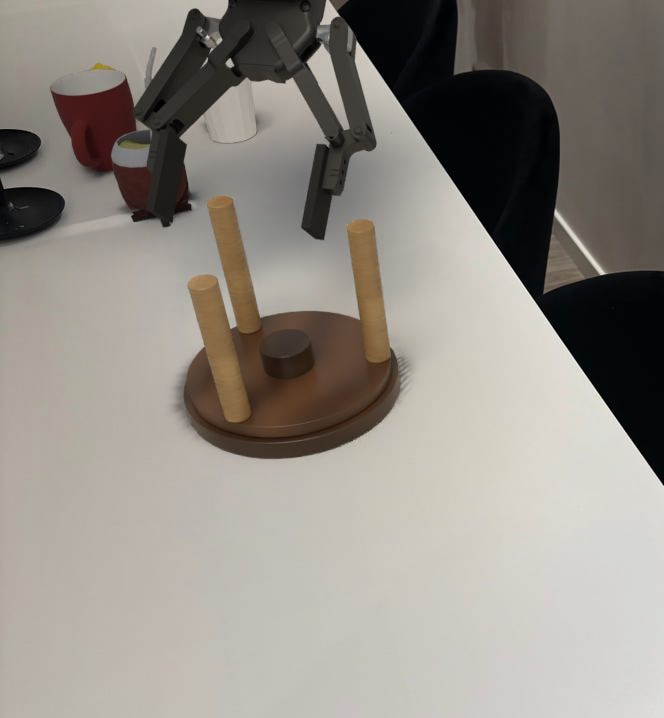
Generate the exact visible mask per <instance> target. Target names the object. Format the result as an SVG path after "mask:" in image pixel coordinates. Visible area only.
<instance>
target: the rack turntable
mask: <svg viewBox="0 0 664 718" xmlns="http://www.w3.org/2000/svg"><path fill="white" fill-rule="evenodd" d="M206 208H207V212H208V216H209V220H210V223H211V227H212V231H213V235H214V239H215V243H216V248H217V251H218V255H219V260H220V264H221V268H222V272H223V275H224V280H225V283H226V287H227V292H228V295H229V296H228V297H229V300H230V303H231V304H230V305H231V307H232V308H231V309H232V311H233V315H234V319H235V324H236V325H235V326H234V327H231V326H230V321H229V317H228V314H227V310H226V305H225V302H224V297H223V294H222V290H221V286H220V283H219V278H218V277H216V276H215V275H213V274H200V275H196V276H194V277H192V278H190V279H189V280H188V282H187V289H188V293H189V296H190V300H191V303H192V307H193V310H194V313H195V317H196V321H197V325H198V328H199V331H200V336H201V339H202V341H203V345H204V347H202V348H201V349H200V350H199V352H197V354H196V355H195V357H194V358H193V359H192V360H191V363H190V364H189V367H188V369H187V372H186V379H185V383H186V385H187V390H188V394H189V397H190V400H191V402H192V405H193V407H194V408H195V410H196V411H197V412H198V414H199V415H200V416H201V417H203V418H204V419H205V420H206V421H208V422H209V423H211V424H212V425H214V426H216V427H218V428H220V429H223V430H225V431H228V432H232V433H235V434H240V435H245V436H252V437H272V438H276V437H290V436H296V435H303V434H308V433H312V432H316V431H320V430H323V429H326V428H329V427H332V426H334V425H337V424H339V423H342V422H344V421H346V420H348V419H350V418H352V417H354V416H356V415H357V414H359V413H360V412H362V411H363V410H365V409H366V408H367V407H368V406H370V405H371V404H372V403H373V402H374V401H375V400H376V399H377V398H378V397H379V396H380V395H381V394H382V392H383V391H384V389H385V388H386V386H387V384H388V382H389V380H390V377H391V372H392V361H391V353H390V347H391V346H390V337H389V330H388V321H387V313H386V308H385V307H386V305H385V298H384V292H383V291H384V290H383V284H382V283H383V282H382V275H381V267H380V258H379V250H378V242H377V234H376V227H375V223H374V222H373V221H372V220H371V219H370V220H369V219H361V218H360V219H356V220H355V219H354V220H352V221H350V222H349V223H347V224H346V235H347V243H348V248H349V255H350V263H351V269H352V276H353V283H354V290H355V296H356V303H357V310H358V316H359V319H358V318H356V317H354V316H351V315H347V314H342V313H338V312H331V311H323V310H322V311H321V310H297V311H287V312H286V311H285V312H280V313H275V314H270V315H265V316H262V317H261V313H260V310H259V306H258V302H257V298H256V292H255V289H254V284H253V279H252V275H251V271H250V266H249V262H248V258H247V254H246V250H245V249H246V248H245V245H244V241H243V236H242V232H241V231H242V230H241V228H240V223H239V218H238V214H237V209H236V206H235V201H234V199H233V197H231V196H229V195H217V196H214V197H211V198H208V200H207V201H206Z"/></svg>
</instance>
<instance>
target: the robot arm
mask: <svg viewBox="0 0 664 718" xmlns="http://www.w3.org/2000/svg"><path fill="white" fill-rule="evenodd" d="M326 4H327V0H227V8H226V10H225V12H224V14H223V15H222V16H221V18H217V17H211V16H207V15H204V14H203V12H202V11H200V9H199V8H196V7H194V8H191V9H190V10H189V11H188V12H187V14H186V18H185V21H184V25H183V28H182V32H181V35H180V36H179V38H178V40H177V41H176V42H175V44H174V45H173V47H172V48H171V50H170V51H169V53H168V55H167V56H166V58H165V59H164V61H163V62H162V63H161V65H160V67H159V68H158V70H157V72H156V73H155V75H154V76H153V78H152V81H151V82H150V84H149V85H148V87H147V88H146V89H144V92H143V93H142V95H141V96H140V98H139V99H138V101H137V102H136V104H134V109H133V116H134V117H135V118H136V121H138V122H140V123H141V124H142V125H143V126H145V127H146V128H147V129H148V130H152V137H151V142H150V148H149V153H148V158H147V170H148V171H150V172H151V173H152V178H151V183H150V189H149V194H148V199H147V204H146V210H147V211H148V212H150V213H152V214H153V215H155V216H156V217H157V218H158V219H159V220H160V219H161V220H163V221H165V222H170V223H173V222H174V217H175V214H174V212H175V206H176V201H177V196H178V191H179V185H180V180H181V175H182V169H183V164H184V163H185V158H186V153H187V147H188V144H187V143H186V142H185V141H184V140H182V139H181V137H182V136H183V135H184V134H185V133H186V132H187V131H188V130H189V129H190V128H191V127H192V126H193V125H194V124H195V123H196V122H197V121H198V120H200V118H201V117H203V114H204V113H205V112H206V111H207V110H208V109H209V108H210V107H211V106H212V105H213V104H214V103H215V102H216V101H217V100H218V99H219V98H220V97H221V96H222V95H223V94H224V93H225V92H226V91H227V90H228V89H229V88H231V87H236V86H238V85H239V84H241V83H242V82H243V81H244V80H245V79H246V78H248V79H249V80H250V81H251V82H256V83H259V82H265V81H270V82H273V83H275V84H285V85H286V83H287V81H290V80H291V79H292V80H293V81H294V83H295V85H296V86H297V88H298V90H299V92H300V94H301V96H302V98H303V99H304V101H305V102H306V104H307V107H308V108H309V110H310V112H311V113H312V116H313V117H314V119H315V120H316V123H317V124H318V126H319V129H321V132H322V133H323V135H324V139H325V140H326V142H328V145H327V144H325V143H316V144H315V149H314V156H313V161H312V166H311V171H310V177H309V182H308V187H307V193H306V198H305V203H304V208H303V214H302V219H301V223H300V229H302V230H303V231H304V232H305V233H307V234H308V235H309V236H310V237H312V238H313V239H314V240H318V241H325V237H326V232H327V226H328V221H329V215H330V210H331V205H332V200H333V197H334V196H335V197H341V195H342V194H343V192H344V191H345V185H346V179H347V174H348V169H349V164H350V159H351V157H352V156H353V155H354V154H355V153H359V152H362V151H365V152H367V153H369V152H372V151H374V150H375V149H376V148H377V144H378V143H377V138H376V134H375V130H374V127H373V123H372V119H371V115H370V111H369V109H368V104H367V101H366V97H365V93H364V91H363V89H364V88H363V85H362V82H361V79H360V75H359V71H358V68H357V64H356V53H357V51H356V50H357V36H356V35H355V33H354V31H353V30H352V29H351V27H350V25H349V24H348V23H347V22H346V20H345V18H344V17H342V16H335V17H334V18H332V20H331V21H330V24H321V23H322V21H323V19H324V16H325V11H326ZM220 39H221V41H220V42H219V43H218V41H219V40H220ZM322 45H323V48H324V49H325V51H326V52H327V53H328V54H329V56H330V60H331V63H332V67H333V71H334V75H335V79H336V82H337V87H338V91H339V94H340V98H341V102H342V105H343V108H344V109H343V110H344V113H345V116H346V121H347V123H348V128H347V129H344V127H343V126H342V123H341V122H340V120H339V118H338V117H337V115H336V113H335V111H334V110H333V107H332V106H331V105H330V102H329V101H328V99H327V97H326V95H325V94H324V92H323V90H322V88H321V87H320V85H319V82H318V80H317V78H316V76H315V74H314V73H313V71H312V69H311V67H310V66H309V64H308V61H309V60H310V59H312V57H313V56H314V55H315V54H316V53H317V51H318V50H319V49H320V48H321V46H322ZM229 60H231V63H232V65H234V66H233V67H231V68H230V67H228V66H227V65H228V64H227V62H228V61H229ZM205 62H206V63H205Z"/></svg>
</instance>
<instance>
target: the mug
mask: <svg viewBox="0 0 664 718" xmlns="http://www.w3.org/2000/svg"><path fill="white" fill-rule="evenodd" d="M49 90H50V93H51V97H52V100H53V103H54V106H55V109H56V112H57V114H58V116H59V119H60V121H61V122H62V124H63V126H64V128H65V131H66V133H67V134H68V136H69V138H70V139H71V140H70V142H71V147H72V148H71V149H72V151H73V154H74V156H75V159H76V160H77V162H78V163H79V164H80V165H82V166H83V167H86V168H90V169H92V170H93V171H97V172H112V171H113V167H112V157H111V153H112V149H113V146H114V144H115V142H116V141H117V140H118V138H120V137H122V136H123V135H125V134H128V133H131V132H135V131H138V128H137V119H136V118H135V117H134V116H133V109H134V107H135V102H134V98H133V95H132V91H131V88H130V84H129V81H128V78H127V75H126V73H124V72H122V71H120V70H116V69H115V70H109V69H97V70H90V69H88V70H82V71H77V72H74V73H73V72H72V73H71V74H67V75H65V76H62V77H60V78H58V79H56V80H55V81H53V82H52V83H51V85H50V86H49ZM113 172H114V171H113Z"/></svg>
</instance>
